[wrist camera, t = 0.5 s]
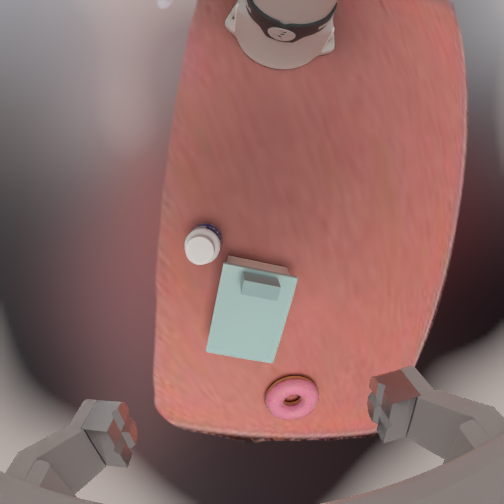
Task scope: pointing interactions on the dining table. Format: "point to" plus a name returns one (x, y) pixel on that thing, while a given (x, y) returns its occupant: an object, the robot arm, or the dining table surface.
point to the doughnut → (288, 388)
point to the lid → (250, 312)
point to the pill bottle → (203, 244)
